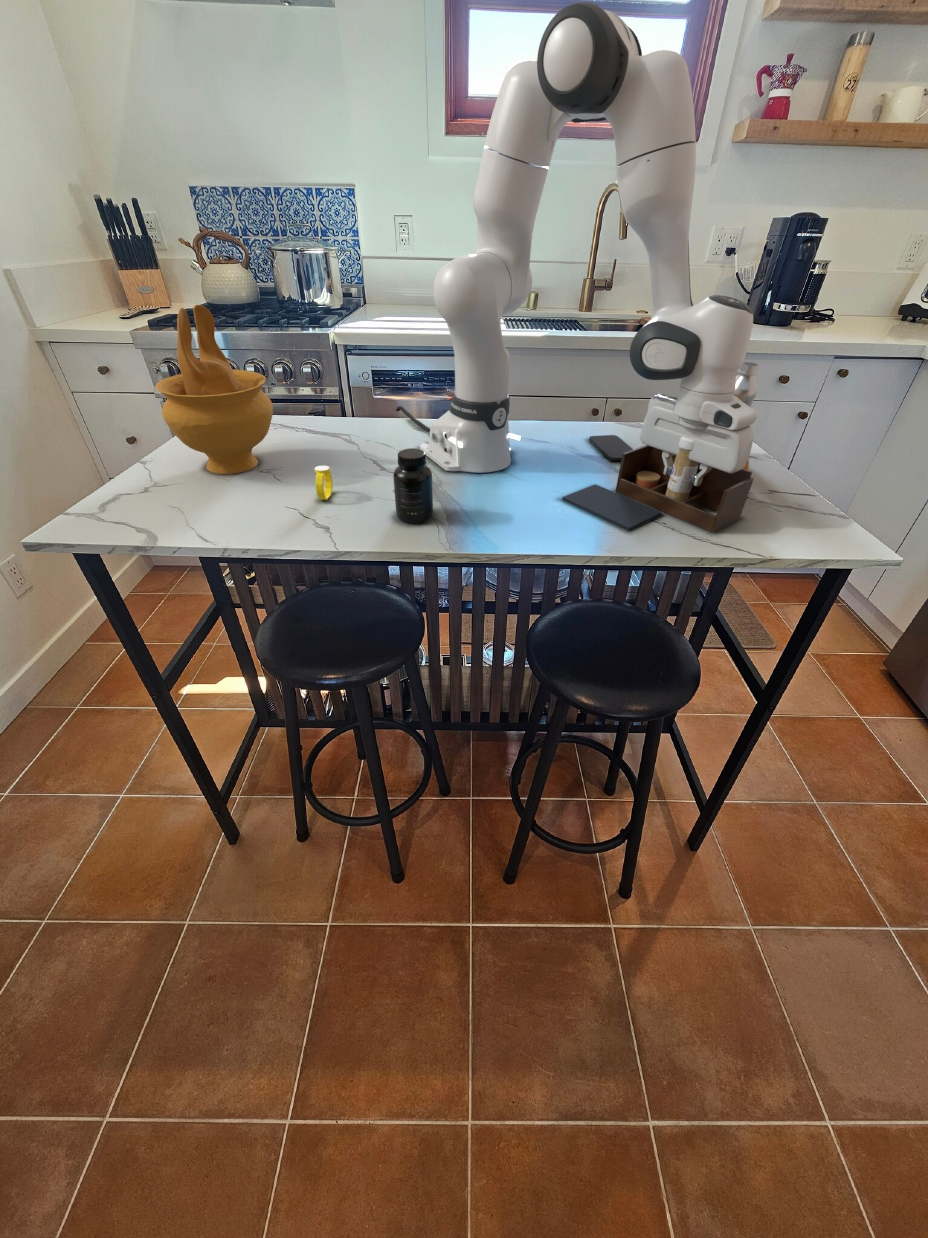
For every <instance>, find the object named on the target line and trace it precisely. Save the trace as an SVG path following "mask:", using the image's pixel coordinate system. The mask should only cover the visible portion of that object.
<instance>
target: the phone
mask: <svg viewBox="0 0 928 1238" xmlns="http://www.w3.org/2000/svg"><path fill="white" fill-rule="evenodd" d="M588 441H589V442H591V443H592V444H593V446H595V447H596V448H597V450H599V451H600V452H601V453H602V454H603V455H604V456H605V457H606V458H607V459H608V460H609V461H612V462H621V460H622V455H623V453H625V452H628V451H631V450H634V449H633V447H631V446H630V445H629V444H628V443H626V442H625V441H624V440H623V439H622V438H621V437H619V436H618V435H616V434H605V435H604V434H603V435H589V439H588Z"/></svg>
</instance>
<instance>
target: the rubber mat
mask: <svg viewBox="0 0 928 1238" xmlns="http://www.w3.org/2000/svg"><path fill="white" fill-rule="evenodd" d="M561 500H562V501H564V502H566V503H568V504H571V505H573V506H575V507H576V508H579V509H581V510H583V511H585V512H587V513H590V514H592V515H594V516H596V517H598V518H601V519H602V520H604V521H607V522H609V523H610V524H613V525H616V526H618V527H620V528H621V529H624V530H626V531H629V532H630V531H631V530H633V529H636V528H637V527H640V526H641V525H644V524H646V523H648V522H650V521H653V520H654V519H657V518H658V517H661V516H662V514H663V512H662V511H660V510H658V509H655V508H653V507H650V506H648V505H646V504H643V503H641V502H639V501H636V500H634V499H631V498H629V497H627V496H624V495H622V494H620V493H617V492H615V491H612V490H610V489H607V488H606V487H603V486H601V485H598V484H596V483H595V484H593V485H590V486H587V487H585V488H582V489H579V490H577V491H575V492H572V493H569V494H567V495H564V496H562V499H561Z"/></svg>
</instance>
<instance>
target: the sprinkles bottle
mask: <svg viewBox="0 0 928 1238" xmlns="http://www.w3.org/2000/svg"><path fill="white" fill-rule="evenodd" d="M693 446H694V441H693V440H691V439H688V438H685V437H681V439H680V442H679V447H681V448H682V449H680V448H679V450H680V451H679V453H678V455H676V458H675V462H674V464H673V468H672V472H671V476H670V479H669V483H668V488H667V491H666V496H668V497H671V498H673V499H676V500H678V501H681V502H683V501H685V500H687V499H688V498H689V494H690V491H691V489H692V485H691V484H690V481H691V476H692V475H695V474H696V472H697V468H698V464H699V463H698V462H695V461H692V460H690V459H689V453H690V452H689V451H691V450H692V449H693Z"/></svg>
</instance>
